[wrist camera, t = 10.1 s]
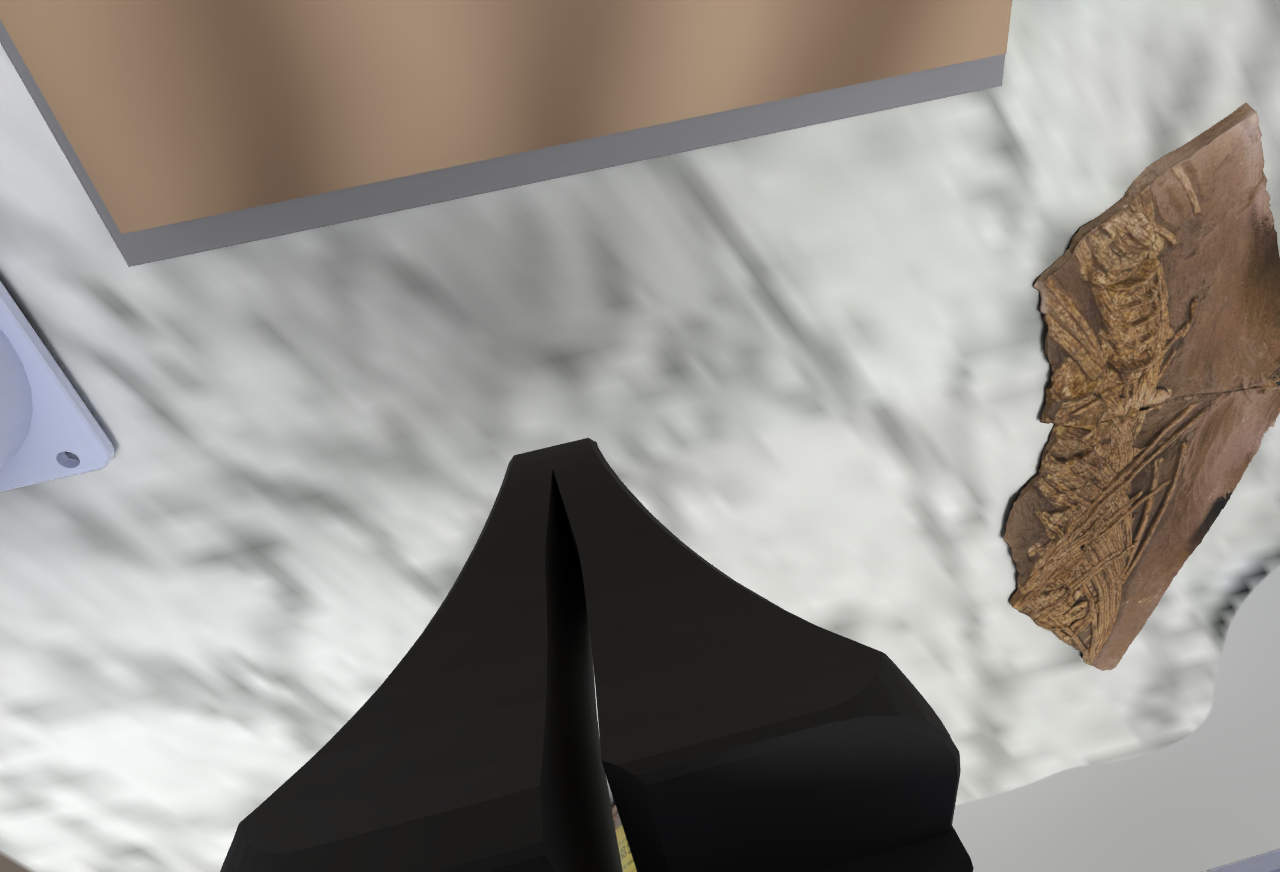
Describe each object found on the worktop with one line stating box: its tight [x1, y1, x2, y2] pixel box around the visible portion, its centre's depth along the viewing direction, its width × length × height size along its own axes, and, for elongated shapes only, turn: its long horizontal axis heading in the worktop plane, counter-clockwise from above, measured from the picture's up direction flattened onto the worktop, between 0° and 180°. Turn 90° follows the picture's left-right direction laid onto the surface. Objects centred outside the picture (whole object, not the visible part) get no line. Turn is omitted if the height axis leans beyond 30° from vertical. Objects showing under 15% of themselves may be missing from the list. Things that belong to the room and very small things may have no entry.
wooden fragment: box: [1004, 103, 1280, 671], centre depth 27 cm, size 26×11×1 cm, turn 10°
